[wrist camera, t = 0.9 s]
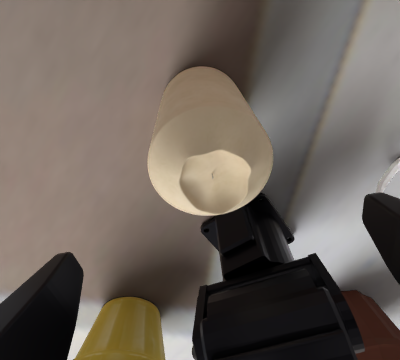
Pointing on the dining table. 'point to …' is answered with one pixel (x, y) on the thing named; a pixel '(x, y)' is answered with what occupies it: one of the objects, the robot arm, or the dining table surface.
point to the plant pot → (125, 332)
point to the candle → (207, 145)
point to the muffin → (373, 328)
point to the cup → (388, 176)
